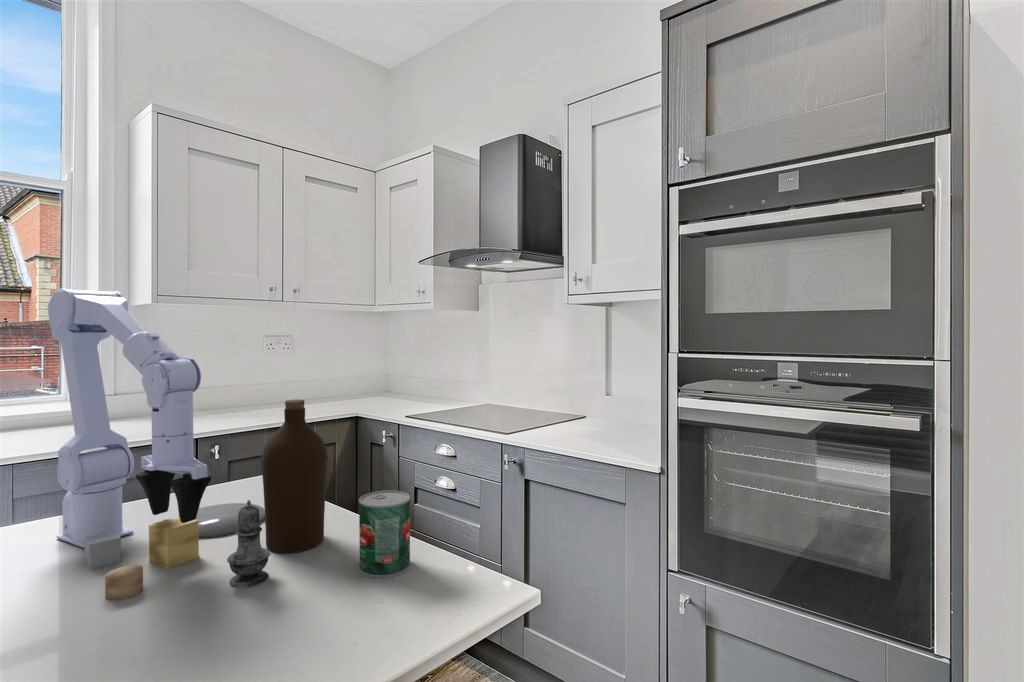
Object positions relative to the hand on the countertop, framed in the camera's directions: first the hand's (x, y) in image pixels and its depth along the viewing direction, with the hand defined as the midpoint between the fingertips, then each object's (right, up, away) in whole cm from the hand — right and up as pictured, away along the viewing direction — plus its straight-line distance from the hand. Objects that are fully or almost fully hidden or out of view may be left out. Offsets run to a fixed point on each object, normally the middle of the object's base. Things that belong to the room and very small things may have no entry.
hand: (174, 516), depth 89 cm
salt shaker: (+15, -7, -7) cm, 18 cm away
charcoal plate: (-2, -6, +17) cm, 18 cm away
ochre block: (0, -7, 0) cm, 7 cm away
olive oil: (+17, -7, +7) cm, 20 cm away
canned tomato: (+35, -7, -2) cm, 36 cm away
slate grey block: (-11, -7, -1) cm, 13 cm away
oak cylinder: (0, -7, -11) cm, 13 cm away
